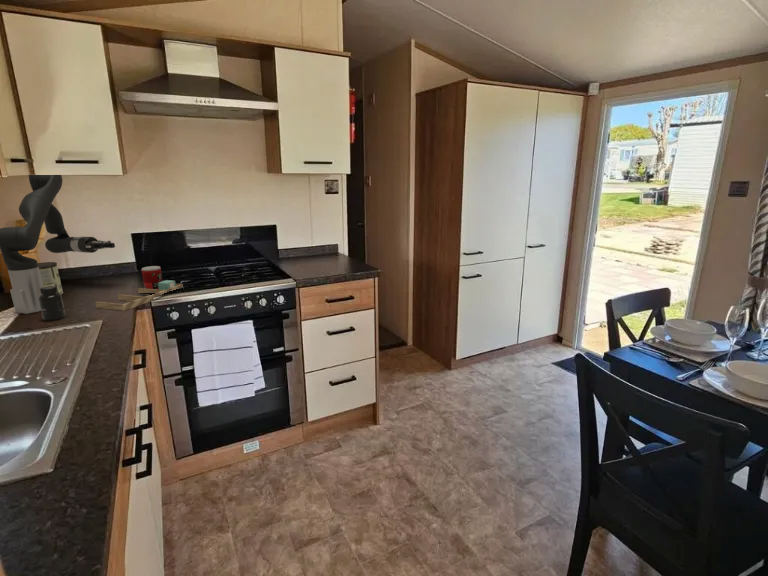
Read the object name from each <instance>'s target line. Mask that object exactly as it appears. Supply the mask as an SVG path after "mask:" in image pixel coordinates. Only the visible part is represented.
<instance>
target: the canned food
mask: <svg viewBox="0 0 768 576" xmlns="http://www.w3.org/2000/svg"><path fill="white" fill-rule="evenodd" d="M162 273H163V272H162V269H161V266H160V265H151V266H144V267H142V268H141V275H142V281H143V286H144V287H143V288H145V289H157V290H159V287H158V283H159V282H162V281H164V280H163V274H162Z"/></svg>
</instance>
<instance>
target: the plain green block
mask: <svg viewBox="0 0 768 576" xmlns="http://www.w3.org/2000/svg"><path fill="white" fill-rule="evenodd" d="M176 284H177V283H176V280H168V279H165V280H163V281H162V282H159V283H158V287H159V290H166V289H169V288H172V287H175V286H176Z"/></svg>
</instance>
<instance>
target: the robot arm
mask: <svg viewBox="0 0 768 576" xmlns="http://www.w3.org/2000/svg"><path fill="white" fill-rule="evenodd" d="M28 181H29V184H30V188H31V190H32V191H31V192H29V193H27V194H25V195H24V197H23V198H22V200H21V201H20V204H19V207H18V212H19V214H20V216H21V217H22V219H23V220H24V221H25V222H26V223H25V225H23V226H10V227H9V226H8V227H7V226H6V227H5V226H4V227H1V228H0V252H1V254H2V258H3V262H4V264H5V265H6V268H7V272H8V277H9V280H10V284H11V289H10V290H9V292H10V296H11V299H12V303H13V307H14V311H15V313H16V314H23V315H27V314H32V313H38V312H41V307H40V303H39V297H40V296H41V295H42V294H41V291H40V289H41V288H43V284H42V280H41V276H40V271H39V267H38V263H39V262H38V261H37V260H36V259H35V258H32V257H27V256H25V255H22V254H21V253H20V252H24V251H25V252H26V251H27V252H28V251H32V250H34V249H35V248H37V245H38V242H39V239H40V236H41V233H42V232H41V231H42V227H43V225H45V230H46V232H47V233H48V234H51V235H56V236H54V237H51V238H48V239H47V240H46V241H45V243H44V246H45V249H46V250H47V251H48V252H51V253H53V254H62V253H63V254H64V253H68V252H73V253H74V252H75V253H76V252H77V253H86V254H87V253H89V254H90V253H91V254H92V253H96V252H97V251H98V250H103V249H115V247H116V246H115V245H116V244H115V243H114V242H112V241H111V240H107V241H106V240H101V239H100V240H99V239H97V238H96V237H94V236H70V235H69V233H68V232H67V230H66V228H65V224H64V218H63V216H62V213H61V212H60V211H59V210H58V207H57V208H56V206H55V205H54V204H53V201H54V199H55V198H56V197H57V195H58V194H59V192H60V190H61V188H62V186H63V177H62V174H61V175H29V174H28Z"/></svg>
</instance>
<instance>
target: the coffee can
mask: <svg viewBox="0 0 768 576" xmlns="http://www.w3.org/2000/svg"><path fill="white" fill-rule="evenodd" d="M37 263H38V267H39V271H40V276H41V280H42V284H43V287H48V286H55V287H56V288H57V293H59V294H61V295H62V294H64V291H63V286H62V283H61V277H60V274H59V270H58V269H59V268H58V263H57V262H56V261H47V262H45V261H43V262H37Z"/></svg>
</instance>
